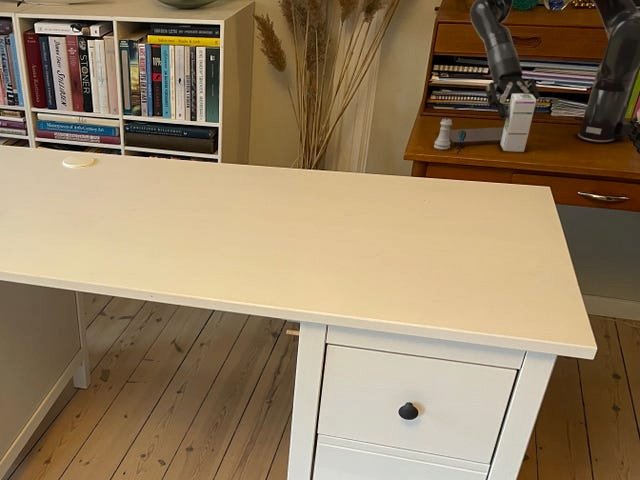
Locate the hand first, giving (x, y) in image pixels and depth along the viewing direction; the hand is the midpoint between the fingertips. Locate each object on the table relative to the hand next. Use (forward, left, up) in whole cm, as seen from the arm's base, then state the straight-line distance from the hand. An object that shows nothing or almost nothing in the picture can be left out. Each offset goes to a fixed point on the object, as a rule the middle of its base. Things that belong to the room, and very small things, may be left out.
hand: (518, 116), depth 204 cm
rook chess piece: (+19, -3, -9) cm, 21 cm away
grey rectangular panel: (+5, -10, -9) cm, 14 cm away
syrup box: (0, 0, -9) cm, 9 cm away
